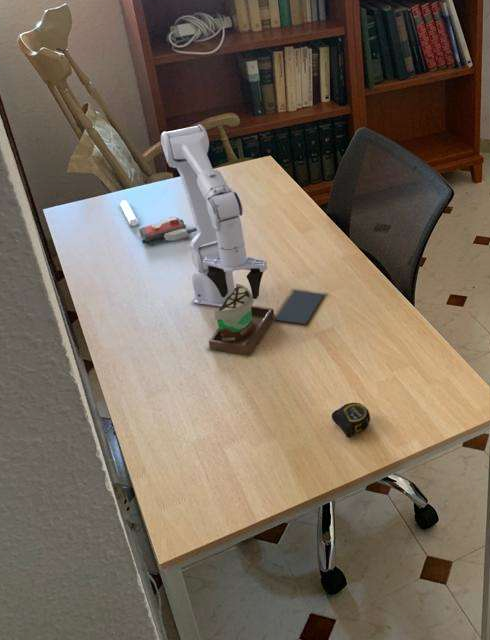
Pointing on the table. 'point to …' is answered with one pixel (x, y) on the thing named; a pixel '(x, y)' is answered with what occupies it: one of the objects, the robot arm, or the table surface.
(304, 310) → the rubber mat
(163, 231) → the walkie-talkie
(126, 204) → the marker
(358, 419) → the tape measure
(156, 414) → the table surface
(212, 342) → the walnut tray
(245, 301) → the food container
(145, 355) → the table surface
